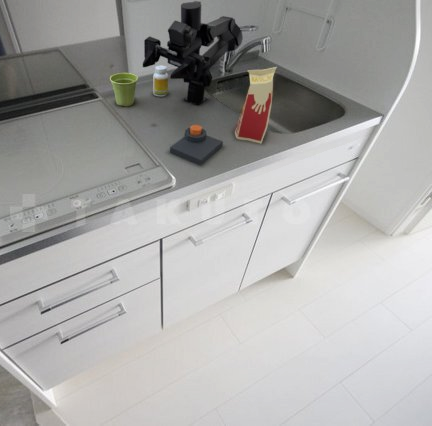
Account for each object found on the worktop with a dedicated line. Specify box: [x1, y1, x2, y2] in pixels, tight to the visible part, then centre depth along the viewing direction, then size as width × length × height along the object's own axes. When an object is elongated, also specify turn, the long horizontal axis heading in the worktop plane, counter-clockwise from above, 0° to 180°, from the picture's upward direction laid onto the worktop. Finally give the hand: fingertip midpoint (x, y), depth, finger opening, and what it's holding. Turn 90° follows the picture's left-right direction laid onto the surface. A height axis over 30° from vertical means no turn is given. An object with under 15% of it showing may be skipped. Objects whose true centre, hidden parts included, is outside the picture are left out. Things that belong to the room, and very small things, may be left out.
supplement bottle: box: [152, 65, 169, 98], centre depth 110 cm, size 5×5×10 cm
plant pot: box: [109, 72, 139, 107], centre depth 104 cm, size 9×9×9 cm
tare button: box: [190, 124, 203, 135], centre depth 86 cm, size 3×3×2 cm
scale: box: [169, 126, 224, 166], centre depth 85 cm, size 12×10×4 cm
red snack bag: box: [234, 66, 278, 145], centre depth 87 cm, size 9×9×20 cm
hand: (156, 71), depth 83 cm, fingers open, 9 cm apart
